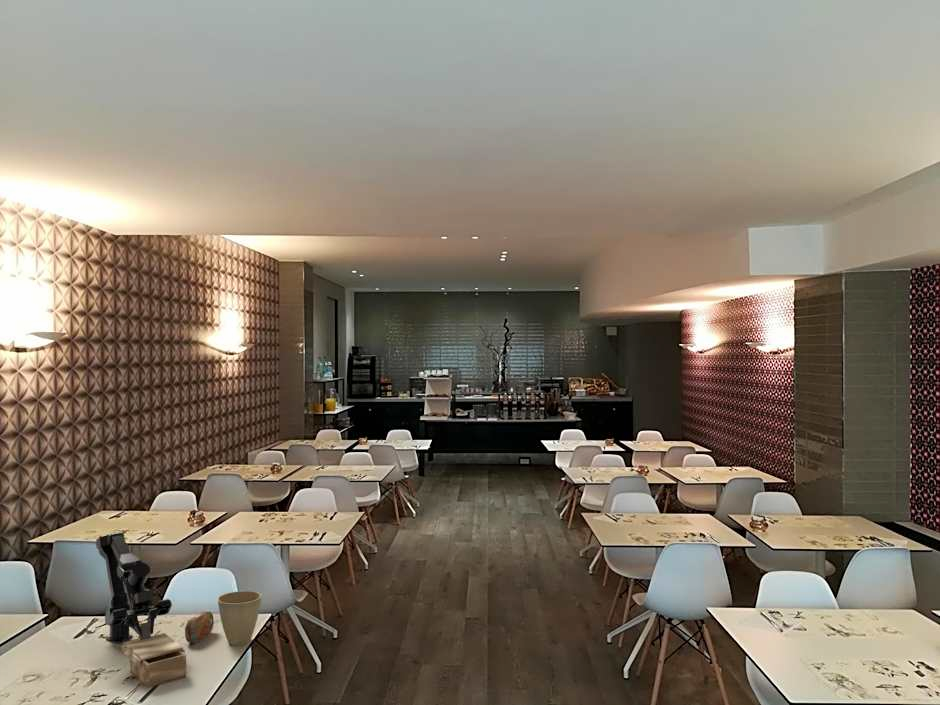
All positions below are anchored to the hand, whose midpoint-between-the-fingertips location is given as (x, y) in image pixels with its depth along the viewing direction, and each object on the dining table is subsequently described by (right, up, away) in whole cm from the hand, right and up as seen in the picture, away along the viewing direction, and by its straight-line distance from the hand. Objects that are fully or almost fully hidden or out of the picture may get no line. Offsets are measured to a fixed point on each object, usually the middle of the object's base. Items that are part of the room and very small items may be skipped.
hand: (146, 635), depth 244 cm
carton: (+7, -9, -8) cm, 14 cm away
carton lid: (+4, -4, -5) cm, 8 cm away
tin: (+9, -10, +23) cm, 26 cm away
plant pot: (+25, -10, +19) cm, 33 cm away
